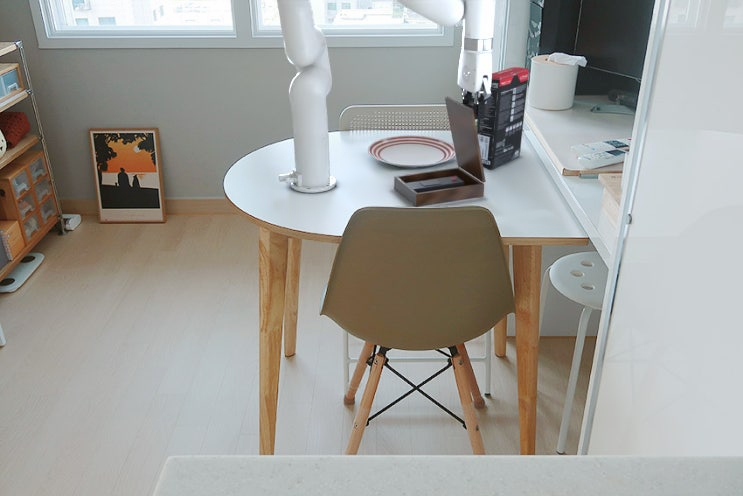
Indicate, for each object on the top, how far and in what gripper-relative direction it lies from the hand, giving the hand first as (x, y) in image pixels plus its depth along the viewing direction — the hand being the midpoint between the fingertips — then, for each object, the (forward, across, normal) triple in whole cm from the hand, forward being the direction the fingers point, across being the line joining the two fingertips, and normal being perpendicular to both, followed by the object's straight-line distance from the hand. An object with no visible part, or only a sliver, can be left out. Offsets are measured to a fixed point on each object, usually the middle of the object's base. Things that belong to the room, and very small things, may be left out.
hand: (473, 115), depth 184 cm
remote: (+20, 0, -10) cm, 23 cm away
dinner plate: (+21, -31, -4) cm, 38 cm away
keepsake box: (+21, 0, -9) cm, 23 cm away
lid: (+6, 0, -2) cm, 7 cm away
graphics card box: (+21, -18, +20) cm, 34 cm away
